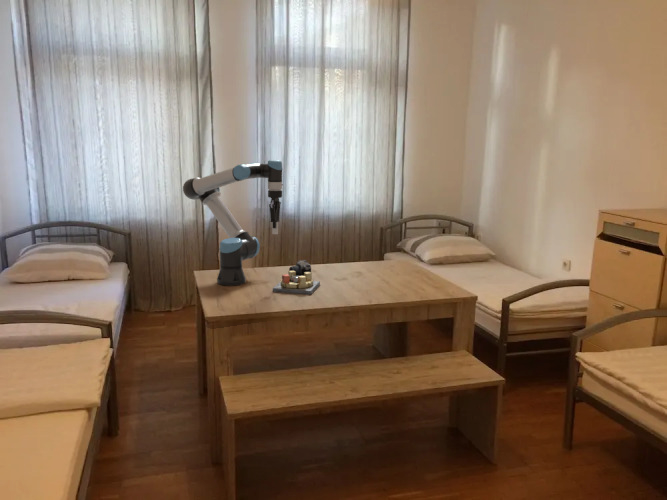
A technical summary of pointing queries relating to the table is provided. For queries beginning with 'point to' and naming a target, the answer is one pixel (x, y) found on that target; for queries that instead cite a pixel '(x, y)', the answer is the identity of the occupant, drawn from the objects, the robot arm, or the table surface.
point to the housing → (296, 290)
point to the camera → (301, 268)
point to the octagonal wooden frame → (302, 280)
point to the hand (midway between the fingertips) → (275, 233)
